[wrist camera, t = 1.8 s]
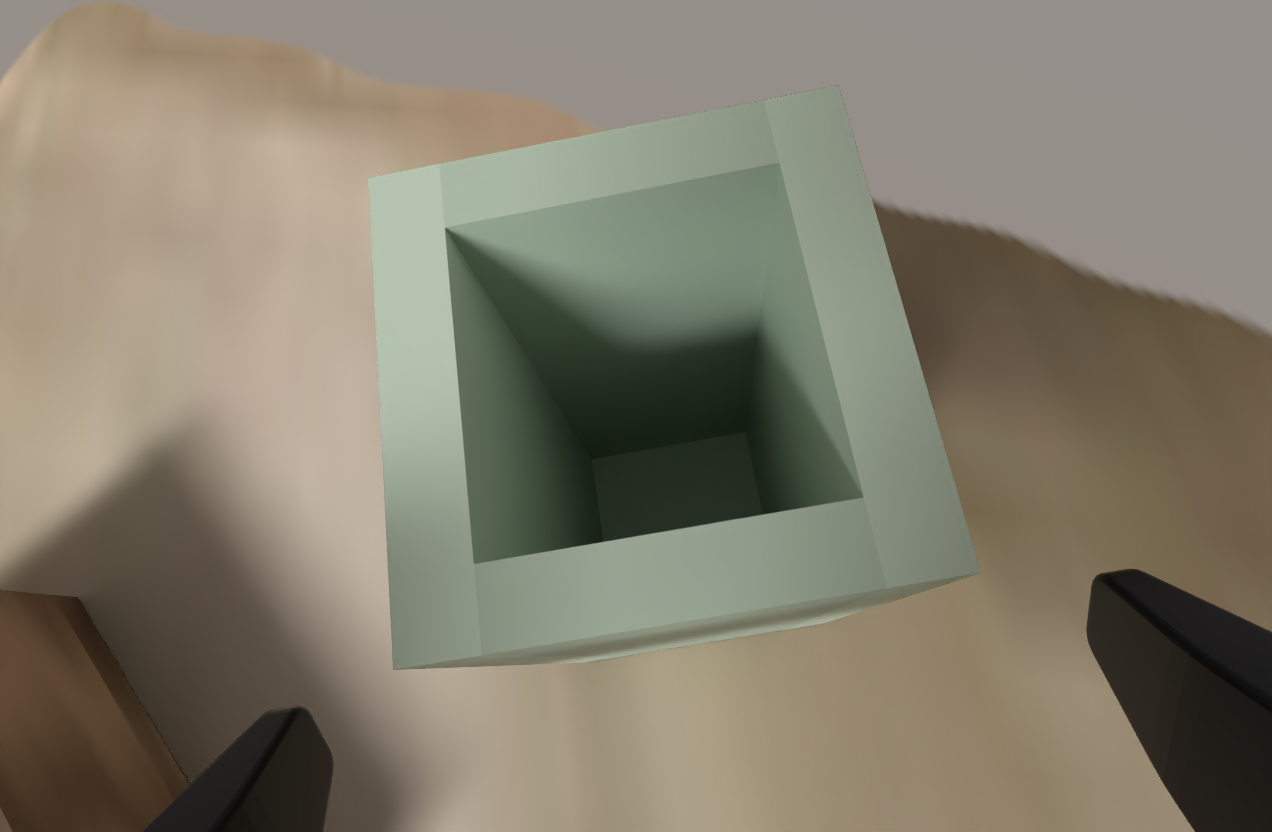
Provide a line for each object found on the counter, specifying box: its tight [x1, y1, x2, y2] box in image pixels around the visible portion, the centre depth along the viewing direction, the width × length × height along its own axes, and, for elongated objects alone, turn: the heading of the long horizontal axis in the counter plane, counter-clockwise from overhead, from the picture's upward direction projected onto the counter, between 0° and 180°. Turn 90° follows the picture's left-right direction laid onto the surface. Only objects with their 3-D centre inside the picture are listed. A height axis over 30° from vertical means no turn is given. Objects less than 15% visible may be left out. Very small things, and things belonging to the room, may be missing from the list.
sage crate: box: [368, 85, 981, 670], centre depth 14 cm, size 6×6×12 cm
